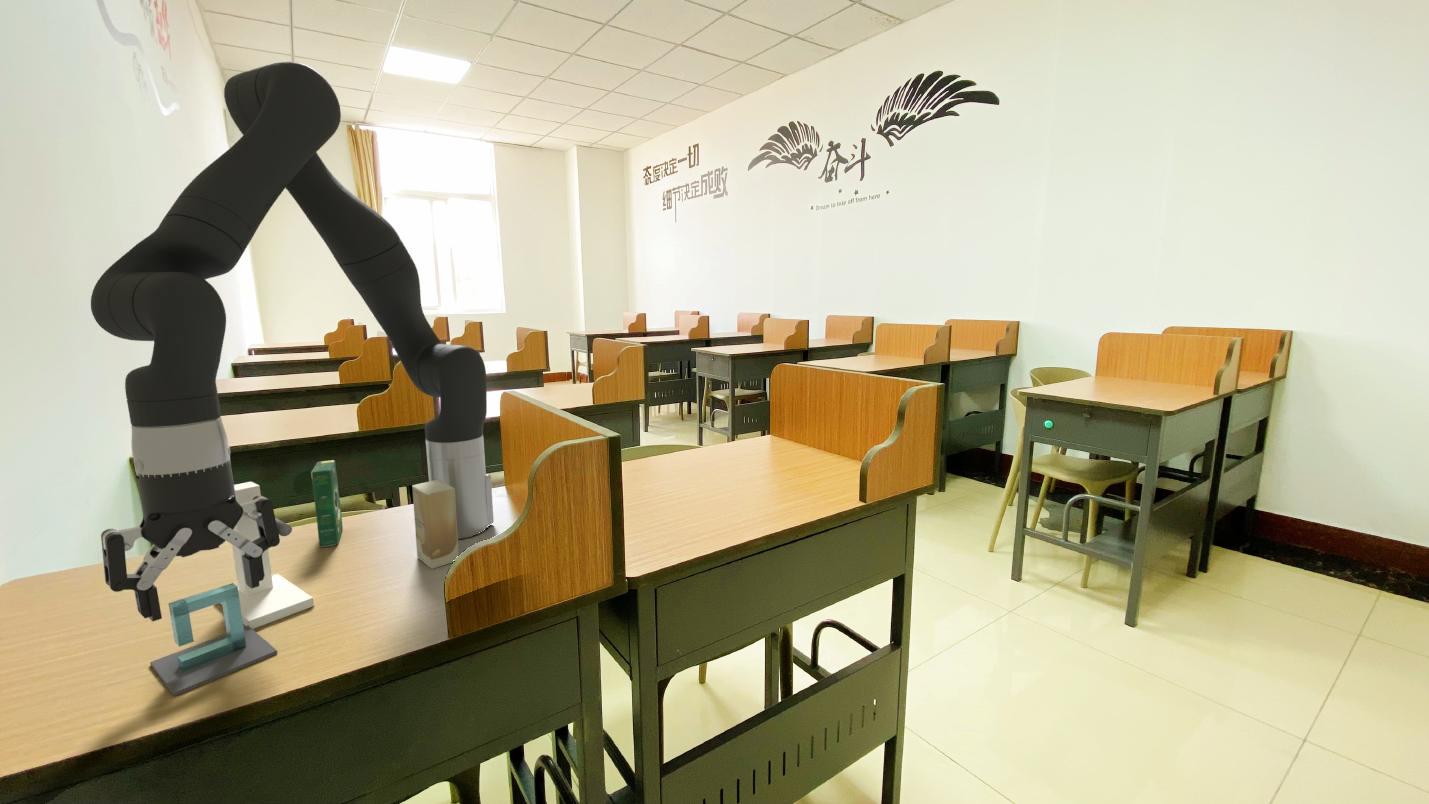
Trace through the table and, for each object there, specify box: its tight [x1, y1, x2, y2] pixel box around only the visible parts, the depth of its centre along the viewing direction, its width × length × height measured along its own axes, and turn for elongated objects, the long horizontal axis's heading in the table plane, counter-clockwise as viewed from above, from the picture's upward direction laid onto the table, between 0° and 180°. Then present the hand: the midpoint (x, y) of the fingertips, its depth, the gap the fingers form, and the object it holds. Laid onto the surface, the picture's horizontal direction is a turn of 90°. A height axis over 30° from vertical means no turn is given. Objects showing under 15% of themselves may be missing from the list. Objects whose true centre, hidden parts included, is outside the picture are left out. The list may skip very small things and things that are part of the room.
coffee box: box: [310, 459, 344, 548], centre depth 98 cm, size 8×3×13 cm, turn 28°
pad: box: [149, 626, 278, 697], centre depth 66 cm, size 9×9×1 cm
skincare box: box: [411, 480, 460, 570], centre depth 90 cm, size 6×4×12 cm
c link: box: [168, 582, 246, 672], centre depth 65 cm, size 6×2×8 cm, turn 146°
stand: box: [219, 481, 315, 630], centre depth 75 cm, size 7×16×16 cm, turn 55°
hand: (206, 601), depth 64 cm, fingers open, 8 cm apart
